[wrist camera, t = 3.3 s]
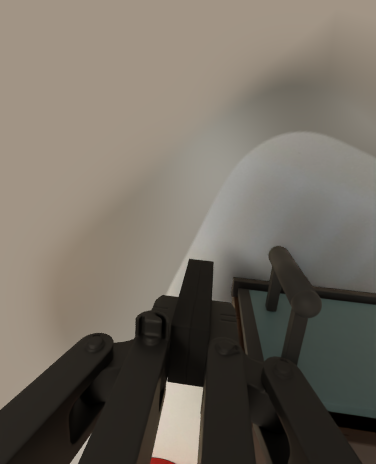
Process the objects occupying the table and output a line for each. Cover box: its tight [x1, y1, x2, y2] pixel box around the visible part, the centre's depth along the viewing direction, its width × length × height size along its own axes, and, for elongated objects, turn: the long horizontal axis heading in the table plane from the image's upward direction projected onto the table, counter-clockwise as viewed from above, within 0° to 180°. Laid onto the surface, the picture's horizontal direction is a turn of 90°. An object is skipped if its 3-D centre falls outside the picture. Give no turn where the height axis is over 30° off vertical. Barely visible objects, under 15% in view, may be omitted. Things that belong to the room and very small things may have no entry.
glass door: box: [238, 246, 376, 418], centre depth 18 cm, size 6×15×11 cm, turn 86°
